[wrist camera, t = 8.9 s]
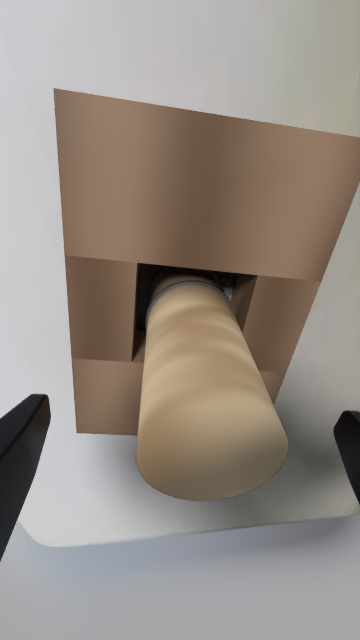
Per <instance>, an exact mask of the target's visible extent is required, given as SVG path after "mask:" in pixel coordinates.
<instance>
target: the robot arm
mask: <svg viewBox="0 0 360 640" xmlns="http://www.w3.org/2000/svg"><path fill="white" fill-rule="evenodd" d="M50 419H51V413H50V405H49V398H48V396H47V395H46V394H31V395H30V396H28V397H27V398H26V399H25V400H23V401H22V402H21V403H19V404H18V405H17V406H16V407H14V408H13V409H12V410H11V411H9V412H8V413H7V414H5V415H4V416H3V417H2V418H0V561H1V558H2V556H3V553H4V551H5V549H6V546H7V544H8V541H9V538H10V536H11V534H12V531H13V529H14V526H15V524H16V521H17V519H18V516H19V514H20V511H21V509H22V507H23V504H24V502H25V499H26V497H27V494H28V492H29V489H30V487H31V484H32V482H33V479H34V476H35V473H36V470H37V466H38V463H39V459H40V456H41V452H42V449H43V445H44V442H45V438H46V434H47V431H48V427H49V424H50ZM334 437H335V440H336V443H337V446H338V449H339V452H340V455H341V458H342V461H343V463H344V466H345V469H346V472H347V475H348V478H349V481H350V483H351V486H352V488H353V491H354V493H355V495H356V498H357V500H358V502H359V504H360V412H358V411H349V410H346V411H344V412H343V413H342V414H341V416H340V418H339V420H338V421H337V423H336V425H335V427H334Z"/></svg>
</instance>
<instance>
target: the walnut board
mask: <svg viewBox="0 0 360 640" xmlns="http://www.w3.org/2000/svg"><path fill="white" fill-rule="evenodd" d="M54 102H55V117H56V132H57V147H58V162H59V177H60V191H61V206H62V221H63V236H64V251H65V266H66V281H67V296H68V311H69V326H70V340H71V355H72V370H73V385H74V400H75V415H76V430H77V433H90V434H114V435H138V427H139V415H140V404H141V392H142V381H143V369H144V358H145V346H146V335H147V332H146V331H136V324H137V308H138V292H139V276H140V263H146V264H155V265H165V266H175V267H184V268H194V269H204V270H213V271H223V272H233V273H237V277H236V281H235V286H234V290H233V294H232V299H231V303H232V306H233V308H234V311H235V316H236V320H237V323H238V325H239V327H240V329H241V332H242V334H243V336H244V339H245V341H246V343H247V346H248V348H249V350H250V352H251V355H252V357H253V359H254V362H255V364H256V366H257V369H258V371H259V373H260V375H261V378H262V380H263V382H264V385H265V387H266V389H267V392H268V394H269V396H270V398H271V401H272V403H273V405H274V402H275V399H276V397H277V394H278V392H279V389H280V387H281V384H282V381H283V379H284V376H285V374H286V371H287V368H288V366H289V363H290V361H291V358H292V356H293V353H294V350H295V348H296V345H297V343H298V340H299V337H300V335H301V332H302V330H303V327H304V324H305V322H306V319H307V317H308V314H309V312H310V309H311V306H312V304H313V301H314V299H315V296H316V293H317V291H318V288H319V286H320V283H321V281H322V278H323V275H324V273H325V270H326V268H327V265H328V262H329V260H330V257H331V255H332V252H333V249H334V247H335V244H336V242H337V239H338V237H339V234H340V231H341V229H342V226H343V224H344V221H345V218H346V216H347V213H348V211H349V208H350V206H351V203H352V200H353V198H354V195H355V193H356V190H357V187H358V185H359V182H360V138H359V137H353V136H347V135H340V134H334V133H328V132H322V131H315V130H309V129H303V128H297V127H291V126H284V125H278V124H272V123H266V122H260V121H253V120H247V119H241V118H235V117H229V116H222V115H216V114H210V113H204V112H198V111H191V110H185V109H179V108H173V107H167V106H160V105H154V104H148V103H142V102H136V101H129V100H123V99H117V98H111V97H104V96H98V95H92V94H86V93H80V92H73V91H67V90H61V89H55V88H54Z"/></svg>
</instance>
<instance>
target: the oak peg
mask: <svg viewBox="0 0 360 640" xmlns="http://www.w3.org/2000/svg"><path fill="white" fill-rule="evenodd" d="M145 327H146V332H147V335H146V346H145V358H144V369H143V381H142V392H141V404H140V415H139V427H138V438H137V450H136V463H137V468H138V470H139V472H140V474H141V476H142V477H143V479H144V480H145V481H146V482H147V483H148V484H149V485H151V486H152V487H153V488H155V489H156V490H158V491H160V492H162V493H164V494H166V495H169V496H172V497H175V498H180V499H185V500H193V501H212V500H221V499H227V498H231V497H235V496H238V495H241V494H244V493H246V492H249V491H251V490H253V489H255V488H257V487H259V486H260V485H262V484H264V483H265V482H266V481H268V480H269V479H270V478H272V477H273V476H274V475H275V474H276V473H277V471H278V470H279V469H280V468H281V466H282V465H283V463H284V461H285V459H286V456H287V452H288V439H287V435H286V433H285V431H284V428H283V426H282V424H281V421H280V419H279V417H278V415H277V412H276V410H275V408H274V405H273V403H272V401H271V398H270V396H269V394H268V392H267V389H266V387H265V385H264V382H263V380H262V378H261V375H260V373H259V371H258V369H257V366H256V364H255V362H254V359H253V357H252V355H251V352H250V350H249V348H248V346H247V343H246V341H245V339H244V336H243V334H242V332H241V329H240V327H239V325H238V323H237V320H236V316H235V311H234V308H233V306H232V303H231V301H230V300H229V298H228V297H227V295H226V294H225V293H224V290H223V288H222V286H221V283H220V281H219V279H218V277H217V276H216V274H215V273H214V272H213V271H212V270H204V269H194V268H184V267H175V266H167V267H166V268H164V269H163V270H162V271H161V272H160V273H159V274H158V275H157V276H156V278H155V279H154V281H153V283H152V286H151V290H150V300H149V307H148V310H147V313H146V321H145Z"/></svg>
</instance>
